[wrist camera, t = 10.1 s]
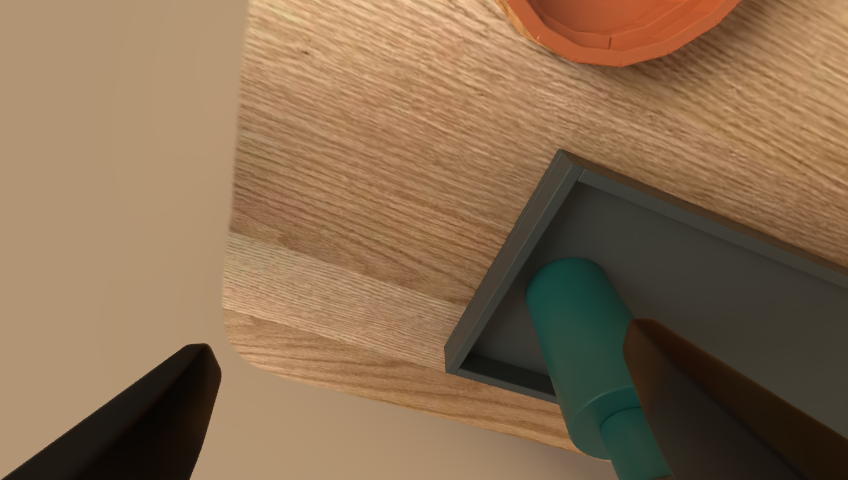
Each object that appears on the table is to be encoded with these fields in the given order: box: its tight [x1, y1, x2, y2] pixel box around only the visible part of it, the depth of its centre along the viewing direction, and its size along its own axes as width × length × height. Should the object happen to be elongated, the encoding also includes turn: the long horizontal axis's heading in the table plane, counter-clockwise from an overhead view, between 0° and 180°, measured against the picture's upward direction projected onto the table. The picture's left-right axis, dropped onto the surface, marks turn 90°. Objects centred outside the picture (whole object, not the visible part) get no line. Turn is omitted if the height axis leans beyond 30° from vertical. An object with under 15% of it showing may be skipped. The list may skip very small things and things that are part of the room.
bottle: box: [525, 258, 674, 480], centre depth 17 cm, size 4×4×11 cm
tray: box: [444, 149, 848, 439], centre depth 25 cm, size 45×13×2 cm, turn 68°
